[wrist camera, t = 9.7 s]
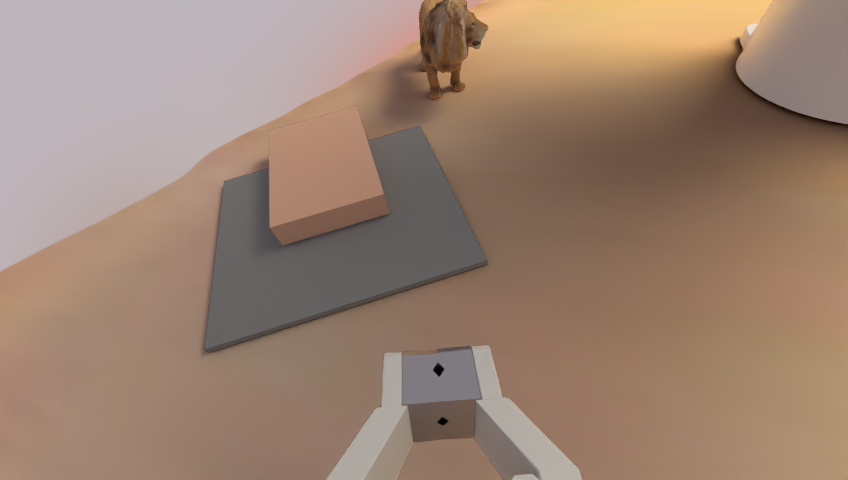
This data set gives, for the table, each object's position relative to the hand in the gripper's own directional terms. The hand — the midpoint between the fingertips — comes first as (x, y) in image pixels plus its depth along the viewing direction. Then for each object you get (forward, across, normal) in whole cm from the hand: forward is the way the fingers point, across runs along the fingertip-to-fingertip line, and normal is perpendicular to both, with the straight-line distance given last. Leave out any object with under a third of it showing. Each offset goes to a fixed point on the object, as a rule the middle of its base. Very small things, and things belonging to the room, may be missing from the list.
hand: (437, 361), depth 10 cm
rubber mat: (+17, +6, +5) cm, 19 cm away
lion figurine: (+35, -4, -1) cm, 35 cm away
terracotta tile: (+15, +6, +4) cm, 17 cm away
